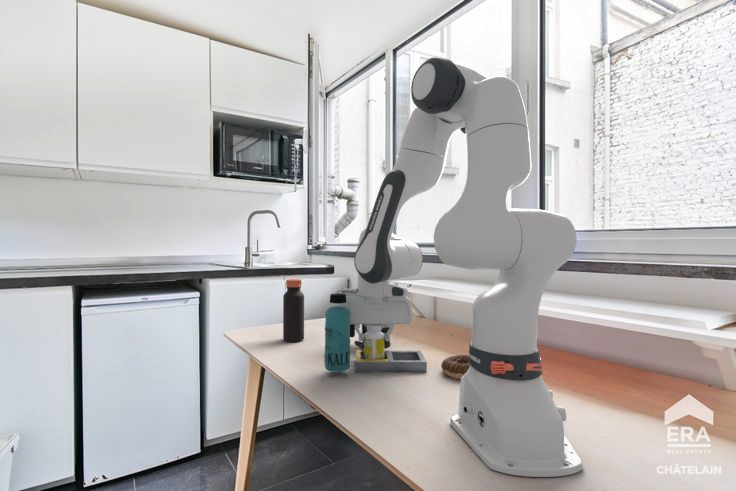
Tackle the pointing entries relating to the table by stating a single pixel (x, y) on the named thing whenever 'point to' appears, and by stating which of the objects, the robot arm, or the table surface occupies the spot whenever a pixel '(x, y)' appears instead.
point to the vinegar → (293, 312)
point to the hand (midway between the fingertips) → (374, 340)
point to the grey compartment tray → (392, 362)
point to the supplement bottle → (374, 342)
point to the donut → (456, 366)
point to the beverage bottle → (337, 335)
